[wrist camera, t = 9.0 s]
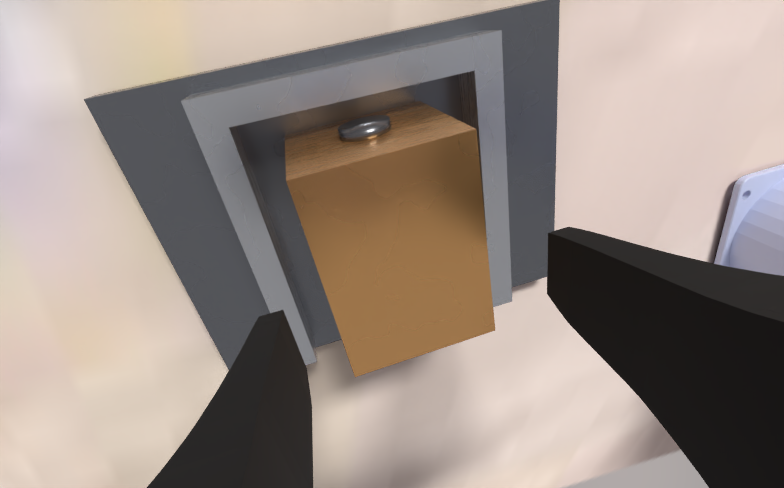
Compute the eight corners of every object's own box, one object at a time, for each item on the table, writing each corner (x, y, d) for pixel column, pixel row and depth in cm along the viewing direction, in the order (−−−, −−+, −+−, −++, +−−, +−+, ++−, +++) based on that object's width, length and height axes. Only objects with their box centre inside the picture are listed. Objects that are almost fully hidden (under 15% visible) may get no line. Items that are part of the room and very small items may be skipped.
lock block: (444, 260, 18) (495, 330, 14) (337, 292, 18) (354, 377, 13) (418, 92, 15) (475, 117, 10) (281, 127, 14) (281, 169, 10)
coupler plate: (541, 264, 21) (571, 291, 19) (232, 357, 19) (226, 399, 17) (543, -1, 15) (587, -7, 13) (96, 95, 13) (60, 107, 11)
